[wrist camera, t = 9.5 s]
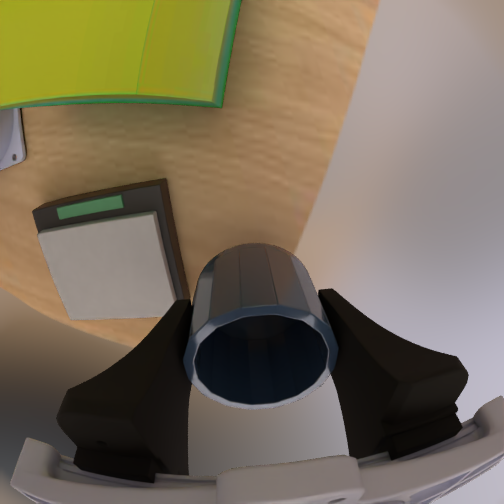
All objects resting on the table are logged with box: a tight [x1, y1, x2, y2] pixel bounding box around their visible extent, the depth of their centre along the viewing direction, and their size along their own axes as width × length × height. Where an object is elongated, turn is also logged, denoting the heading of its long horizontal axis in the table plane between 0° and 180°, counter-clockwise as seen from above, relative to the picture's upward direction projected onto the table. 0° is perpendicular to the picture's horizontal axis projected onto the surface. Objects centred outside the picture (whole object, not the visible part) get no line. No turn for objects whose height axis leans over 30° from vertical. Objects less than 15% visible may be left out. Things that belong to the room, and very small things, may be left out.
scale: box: [32, 178, 190, 320], centre depth 19 cm, size 10×9×3 cm
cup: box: [183, 243, 339, 409], centre depth 12 cm, size 5×5×4 cm
